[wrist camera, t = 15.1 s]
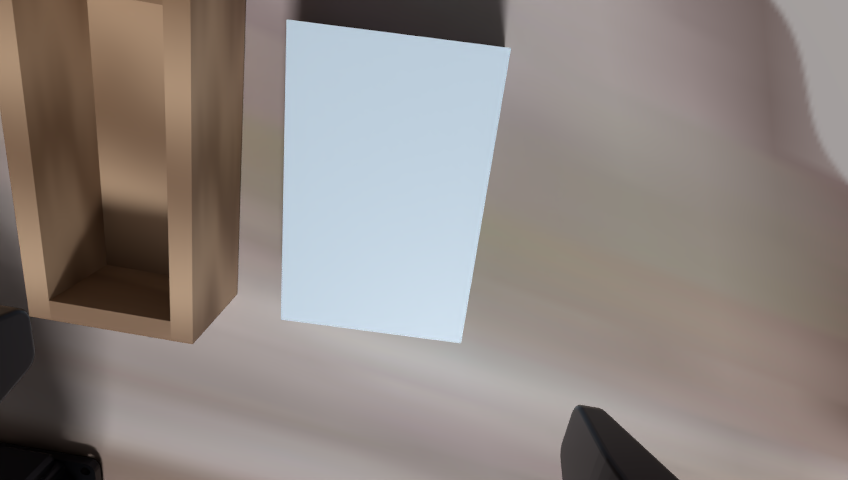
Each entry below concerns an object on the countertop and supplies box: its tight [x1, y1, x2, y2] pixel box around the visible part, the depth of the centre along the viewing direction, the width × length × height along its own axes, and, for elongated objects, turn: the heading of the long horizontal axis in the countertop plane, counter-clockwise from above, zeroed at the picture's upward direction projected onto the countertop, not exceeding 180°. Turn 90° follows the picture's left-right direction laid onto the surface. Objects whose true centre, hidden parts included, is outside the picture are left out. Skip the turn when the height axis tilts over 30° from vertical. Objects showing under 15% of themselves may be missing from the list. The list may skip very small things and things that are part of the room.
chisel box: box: [0, 0, 246, 344], centre depth 15 cm, size 16×6×8 cm, turn 171°
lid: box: [281, 20, 511, 343], centre depth 19 cm, size 11×7×2 cm, turn 173°
